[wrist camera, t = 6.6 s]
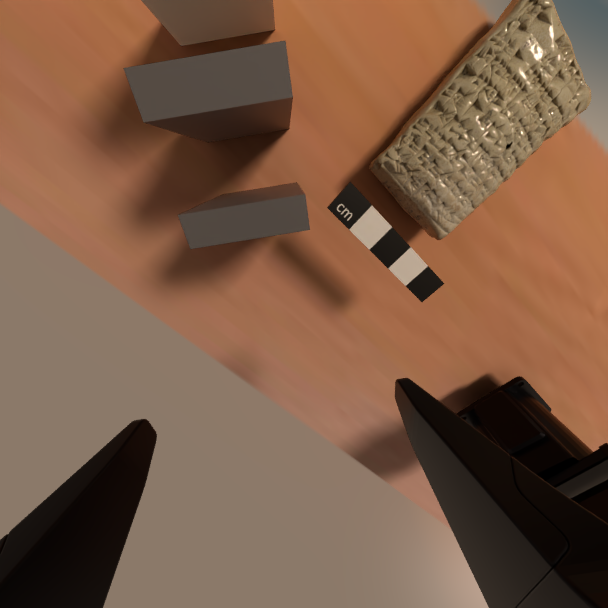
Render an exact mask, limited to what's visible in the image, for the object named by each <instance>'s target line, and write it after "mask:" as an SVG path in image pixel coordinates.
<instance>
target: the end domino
mask: <svg viewBox="0 0 608 608" xmlns="http://www.w3.org/2000/svg"><path fill="white" fill-rule="evenodd" d="M141 1H142V2H143V3H144V4H145V5H146V6H147V7H148V9H149V10H150V11H151V12H152V13H153V14H154V15H155V17H156V18H157V19H158V20H159V21H160V22H161V24H162V25H163V26H164V27H165V28H166V29H167V30H168V32H169V33H170V34H171V35H172V36H173V37H174V38H175V40H176V41H177V42H178V43H179V44H180V45H181V46H184V45H190V44H196V43H202V42H208V41H213V40H219V39H225V38H231V37H237V36H242V35H248V34H254V33H260V32H266V31H271V30H275V22H274V9H273V0H141Z"/></svg>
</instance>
